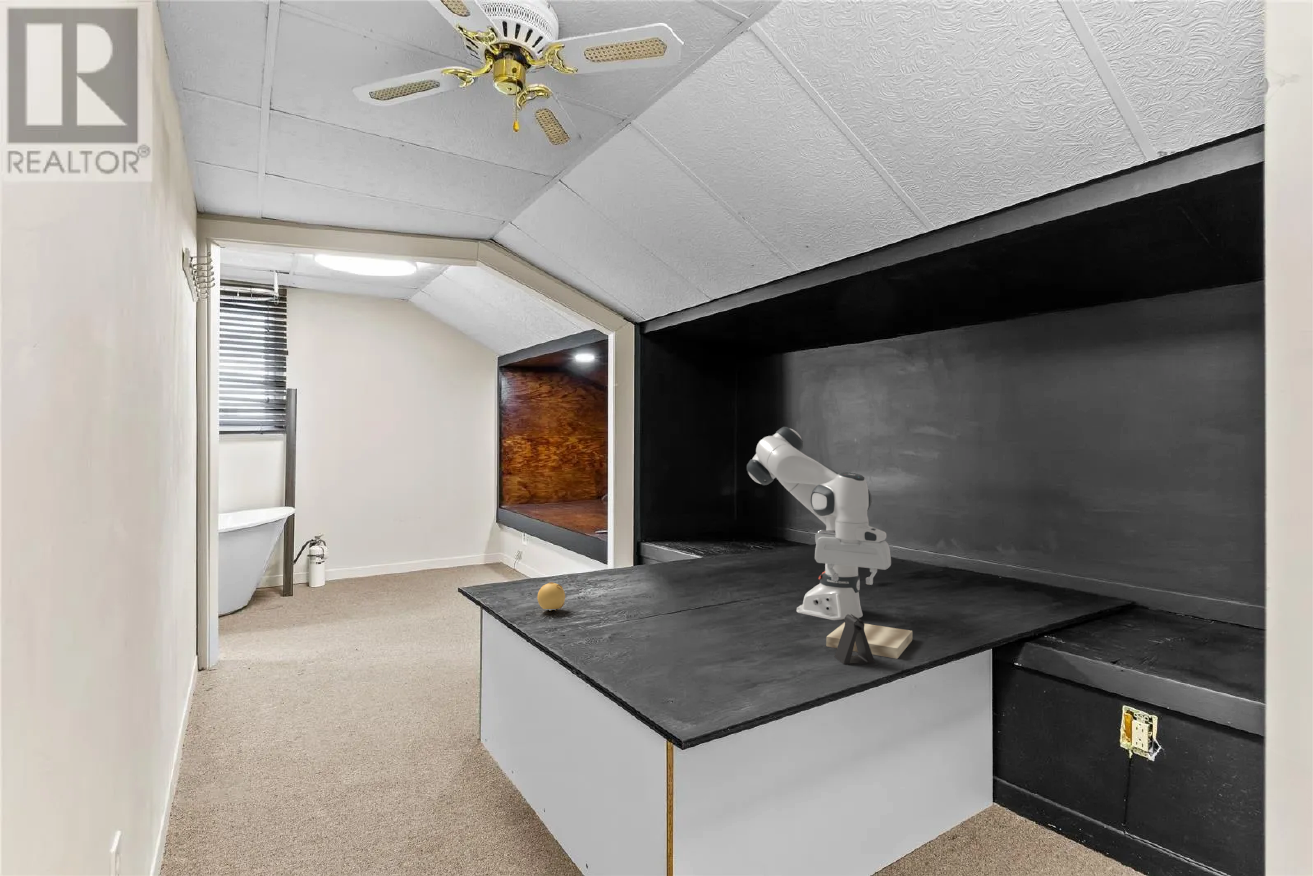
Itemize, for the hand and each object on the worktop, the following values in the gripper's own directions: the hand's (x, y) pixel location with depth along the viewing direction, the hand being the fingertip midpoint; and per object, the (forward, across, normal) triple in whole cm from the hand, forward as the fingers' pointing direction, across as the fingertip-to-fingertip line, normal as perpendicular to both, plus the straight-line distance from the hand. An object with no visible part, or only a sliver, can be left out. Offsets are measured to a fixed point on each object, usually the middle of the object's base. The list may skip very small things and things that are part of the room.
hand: (851, 582), depth 178 cm
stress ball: (+22, -105, -6) cm, 107 cm away
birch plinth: (+22, 0, +18) cm, 28 cm away
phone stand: (+22, 0, 0) cm, 22 cm away
